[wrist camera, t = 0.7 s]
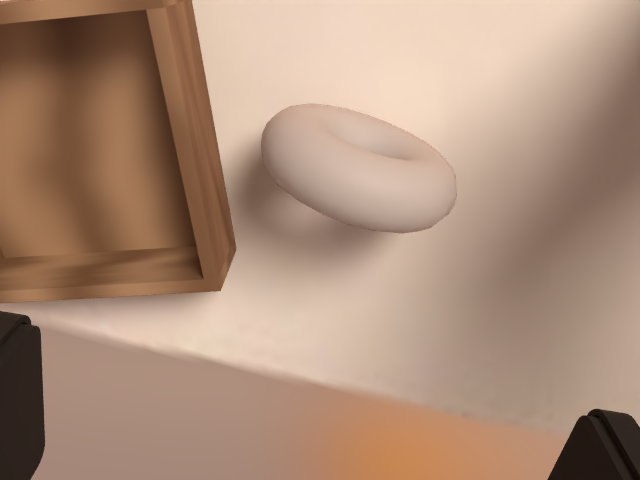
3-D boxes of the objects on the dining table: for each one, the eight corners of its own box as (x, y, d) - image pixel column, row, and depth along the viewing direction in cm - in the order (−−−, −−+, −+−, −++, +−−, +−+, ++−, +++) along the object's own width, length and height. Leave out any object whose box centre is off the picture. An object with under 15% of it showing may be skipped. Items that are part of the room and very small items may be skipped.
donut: (452, 134, 33) (489, 205, 24) (428, 188, 34) (454, 273, 26) (283, 77, 32) (256, 129, 23) (266, 135, 33) (235, 204, 25)
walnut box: (188, -19, 30) (159, -12, 25) (236, 249, 37) (220, 291, 32) (-95, 11, 31) (-169, 22, 27) (3, 263, 38) (-42, 305, 34)
